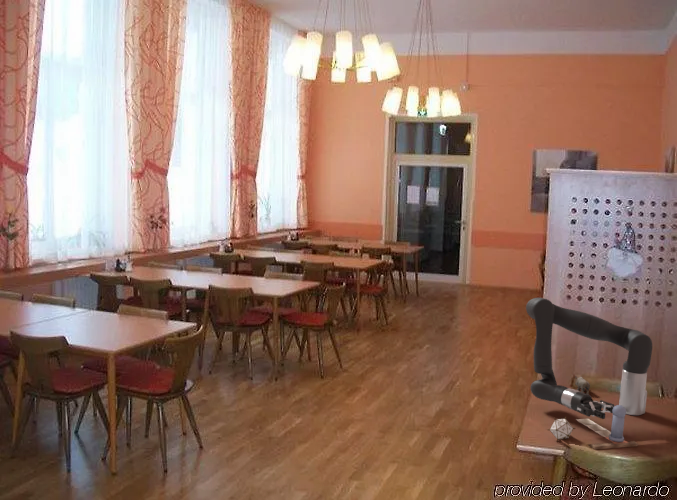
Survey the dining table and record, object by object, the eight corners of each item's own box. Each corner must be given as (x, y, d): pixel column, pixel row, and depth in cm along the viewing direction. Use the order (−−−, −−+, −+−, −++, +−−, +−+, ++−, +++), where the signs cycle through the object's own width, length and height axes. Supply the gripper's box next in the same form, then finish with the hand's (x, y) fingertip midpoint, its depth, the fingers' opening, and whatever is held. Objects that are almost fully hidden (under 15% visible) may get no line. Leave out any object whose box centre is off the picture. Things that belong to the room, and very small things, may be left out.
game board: (593, 419, 283) (593, 417, 283) (637, 446, 259) (637, 443, 258) (552, 422, 278) (553, 419, 278) (594, 449, 253) (594, 446, 253)
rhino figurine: (580, 386, 327) (581, 373, 326) (591, 396, 313) (592, 382, 313) (571, 385, 327) (572, 372, 326) (581, 395, 313) (582, 382, 313)
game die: (564, 451, 260) (577, 436, 253) (542, 440, 261) (554, 425, 254) (568, 432, 267) (580, 417, 260) (546, 422, 268) (558, 406, 261)
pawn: (617, 436, 264) (621, 402, 262) (626, 442, 259) (630, 407, 257) (605, 437, 262) (609, 403, 261) (614, 442, 257) (618, 407, 256)
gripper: (564, 393, 271) (600, 407, 258) (590, 388, 279) (626, 402, 265) (562, 412, 272) (598, 427, 259) (588, 407, 280) (624, 421, 266)
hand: (612, 414), depth 262 cm, fingers open, 8 cm apart
